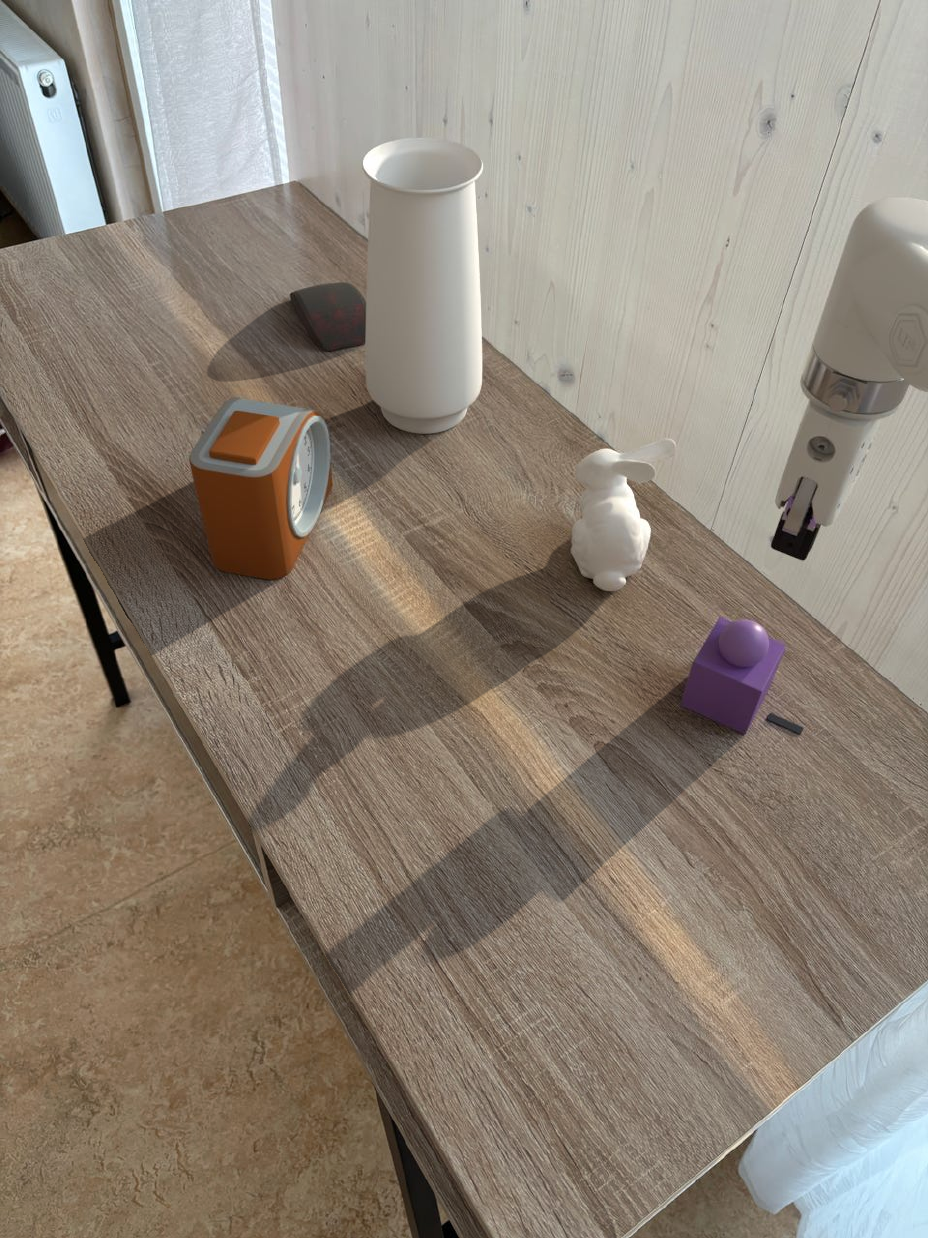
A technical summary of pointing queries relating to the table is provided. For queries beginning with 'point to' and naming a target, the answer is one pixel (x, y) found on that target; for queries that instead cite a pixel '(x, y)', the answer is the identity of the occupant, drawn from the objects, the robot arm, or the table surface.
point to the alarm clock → (261, 484)
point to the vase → (423, 283)
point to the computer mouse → (332, 314)
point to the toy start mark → (785, 723)
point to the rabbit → (613, 513)
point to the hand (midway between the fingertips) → (790, 549)
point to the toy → (733, 673)
